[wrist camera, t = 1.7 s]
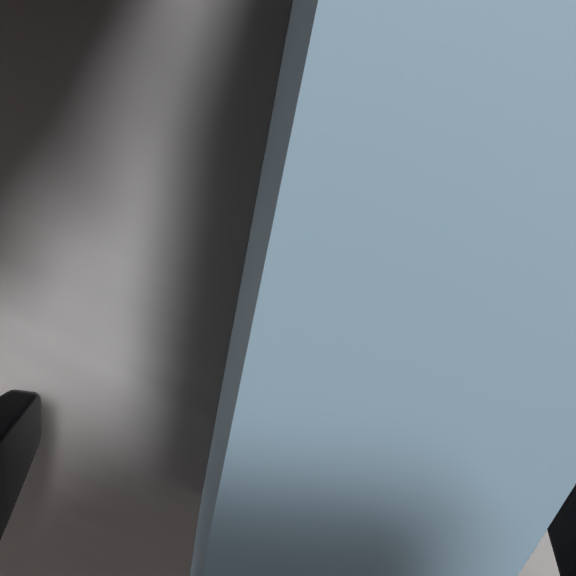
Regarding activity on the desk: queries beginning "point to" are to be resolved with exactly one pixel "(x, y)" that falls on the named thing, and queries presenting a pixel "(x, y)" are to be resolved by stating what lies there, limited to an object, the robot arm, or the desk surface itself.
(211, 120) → the desk surface
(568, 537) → the robot arm
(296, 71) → the light blue rectangular block
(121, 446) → the desk surface
